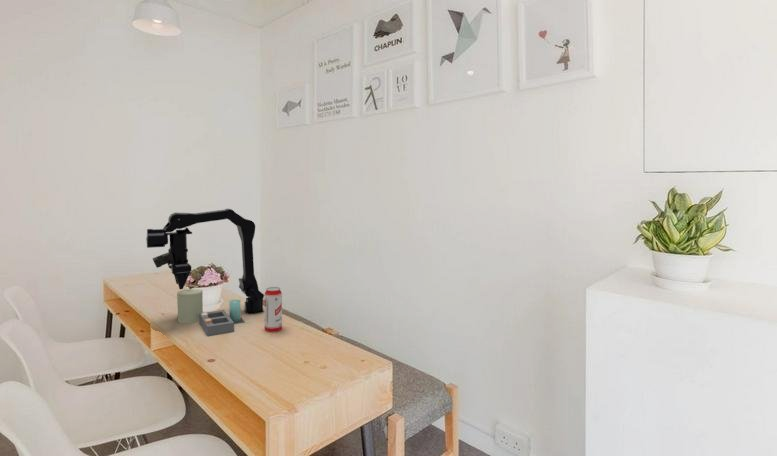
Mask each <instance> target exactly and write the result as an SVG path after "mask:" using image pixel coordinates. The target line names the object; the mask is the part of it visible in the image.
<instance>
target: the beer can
mask: <svg viewBox="0 0 777 456" xmlns="http://www.w3.org/2000/svg"><path fill="white" fill-rule="evenodd" d="M282 328H283V293H282V290H281V288H280V287H279V286H278V287H277V286H272V287H267V288H265V292H264V331H266V332H267V333H275V332H276V333H277V332H279V331H281V330H282Z"/></svg>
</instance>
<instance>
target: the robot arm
mask: <svg viewBox="0 0 777 456" xmlns="http://www.w3.org/2000/svg"><path fill="white" fill-rule="evenodd" d="M167 219H168V221H167V223H166V224H165V225H164V226H163V228H160V229H159V228H156V229H154V228H148V229H147V230H146V237H145V238H146V239H145V240H146V241H145V242H146V248H149V249H151V248H153V249H154V248H164V247H165V246H167V245H168V244H169V249H168V252H166V253H163V254H160V255H157V256H155V257H153V258H152V260H153V261H152V262H153V263H154V265H155V267H156V268H157V269H158V268H161V267H162V266H164V265H166V264H167V266H168V268H169V269H171V273H172V275H174V276H173V277H174V280H175V283H176V285H178V288H179V290H184V288H185V285H186V282H187V281H188V278H189V276H190V274H191V272H192V265H191V264H190V263H189V259H188V252H189V251H188V250H189V249H188V246H187V245H188V243H187V242H188V241H187V237H188V236H187V235H192V234H193V232H192V231H191V230H190V229H189V228H188V227H191V226H193V225H196V224H200V223H208V222H217V221H222V220H228V221H230V222H231V223H232V224H234V226H236V228H237V231H238V236H239V238H240V243H241V256H242V276H241V278H238V282H239V285H238V288H239V289H240V291H241V292H242V293H243V294H244V295H245V296H246V298H245V301H244V312H245V313H247V314H248V315H252V314H260V313H265V310H264V302H263V301H264V298H265V293H263V292H262V291H261V290H259V286H258V285H259V284H258V281H257V278H256V276H255V269H254V246H253V245H254V244H253V241H254V238H255V232H256V224H255V223H254V221H253V220H251V219H247V218H245V217H243V216H241V215H240V214H239V213H237V212H235V211H234V210H233V209H232V208H224V209H221V210H219V209H218V210H211V211H204V212H196V213H195V212H193V213H191V212H173V213H171V214H170V215H169V216H168V218H167Z"/></svg>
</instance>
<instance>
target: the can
mask: <svg viewBox="0 0 777 456" xmlns="http://www.w3.org/2000/svg"><path fill="white" fill-rule="evenodd" d="M176 295H177V296H176V298H177V301H176V303H177V322H178V323H180V324H191V323H197V322H198V323H199V313H204V311H203V310H204V309H203V307H204V306H203V302H204V301H203V299H204V298H203V290H202V289H199V288H189V289H181V290H179V291H177V292H176Z"/></svg>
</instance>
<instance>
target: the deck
mask: <svg viewBox="0 0 777 456" xmlns="http://www.w3.org/2000/svg"><path fill="white" fill-rule="evenodd" d="M244 323H246V322H245V320H244V319H243V318H242V317H241V321H240V322H236V323H234V325H238V324H244Z"/></svg>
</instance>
